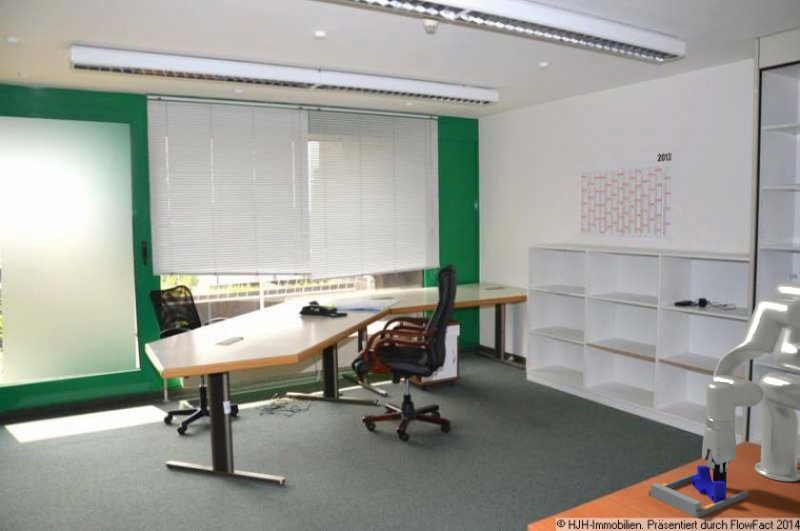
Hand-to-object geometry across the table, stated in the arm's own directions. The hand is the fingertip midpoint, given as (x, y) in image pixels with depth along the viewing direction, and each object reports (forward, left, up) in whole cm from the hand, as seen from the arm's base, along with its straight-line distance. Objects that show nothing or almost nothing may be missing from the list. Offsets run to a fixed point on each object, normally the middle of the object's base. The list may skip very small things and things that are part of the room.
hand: (719, 483), depth 178 cm
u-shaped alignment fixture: (+10, 0, -1) cm, 10 cm away
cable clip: (+6, +1, -2) cm, 7 cm away
